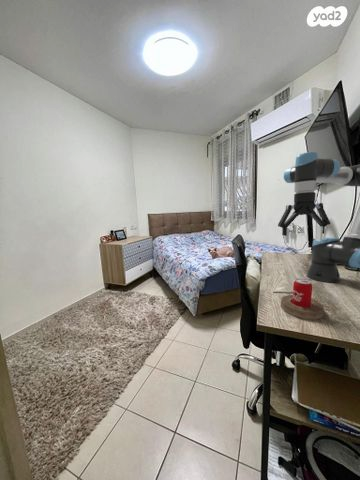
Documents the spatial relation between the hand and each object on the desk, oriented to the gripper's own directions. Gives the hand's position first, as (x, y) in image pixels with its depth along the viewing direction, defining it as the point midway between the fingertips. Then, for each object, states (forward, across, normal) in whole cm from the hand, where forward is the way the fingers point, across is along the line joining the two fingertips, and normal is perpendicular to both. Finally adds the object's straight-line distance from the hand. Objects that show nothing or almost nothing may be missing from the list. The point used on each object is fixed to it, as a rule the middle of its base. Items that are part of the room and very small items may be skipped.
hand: (302, 242), depth 83 cm
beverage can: (+25, +6, +12) cm, 29 cm away
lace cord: (+25, +4, -4) cm, 26 cm away
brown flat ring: (+25, +6, +12) cm, 28 cm away
